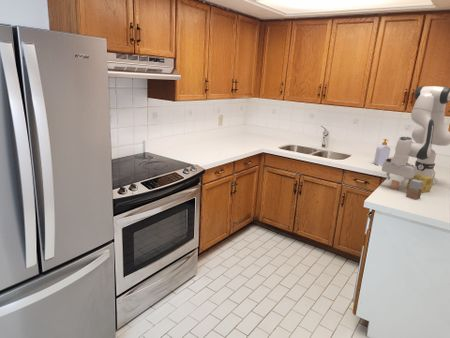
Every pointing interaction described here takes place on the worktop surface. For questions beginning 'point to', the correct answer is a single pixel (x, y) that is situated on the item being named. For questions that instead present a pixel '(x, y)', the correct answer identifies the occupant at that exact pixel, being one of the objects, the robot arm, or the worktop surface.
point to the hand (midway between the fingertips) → (395, 181)
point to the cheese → (425, 184)
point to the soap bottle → (382, 153)
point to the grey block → (415, 184)
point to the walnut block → (413, 193)
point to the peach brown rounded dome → (395, 184)
